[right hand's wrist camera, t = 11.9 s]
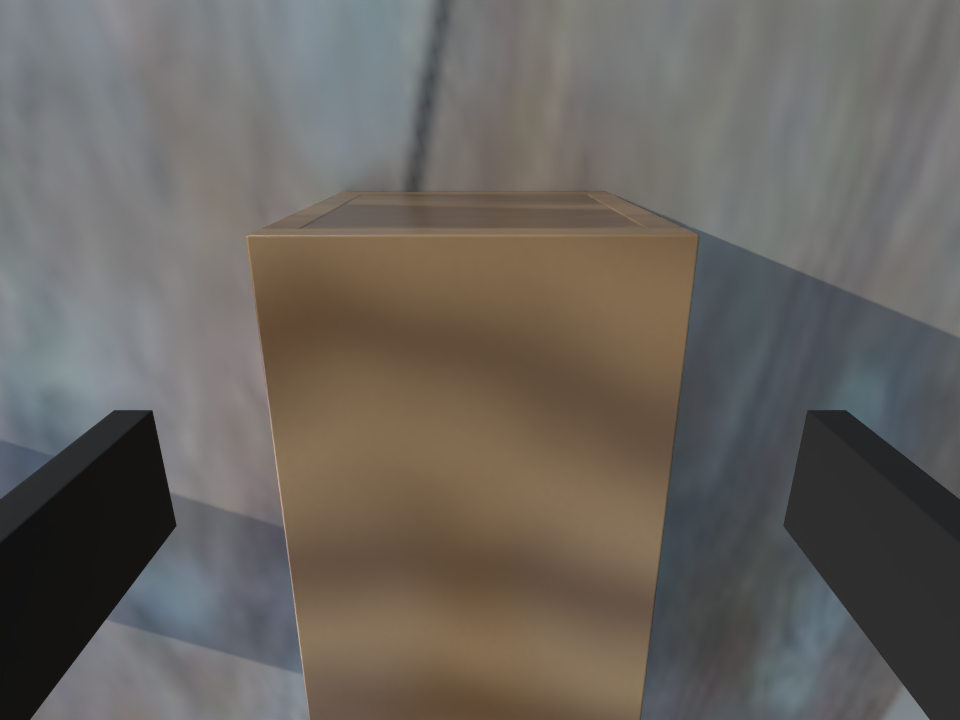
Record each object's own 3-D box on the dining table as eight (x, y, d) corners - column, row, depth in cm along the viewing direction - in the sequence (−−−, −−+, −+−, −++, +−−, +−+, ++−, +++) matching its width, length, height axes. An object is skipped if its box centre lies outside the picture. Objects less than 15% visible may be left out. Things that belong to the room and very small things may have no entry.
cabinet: (579, 598, 33) (628, 821, 22) (371, 598, 33) (321, 823, 22) (607, 191, 26) (700, 234, 15) (341, 191, 26) (244, 235, 15)
